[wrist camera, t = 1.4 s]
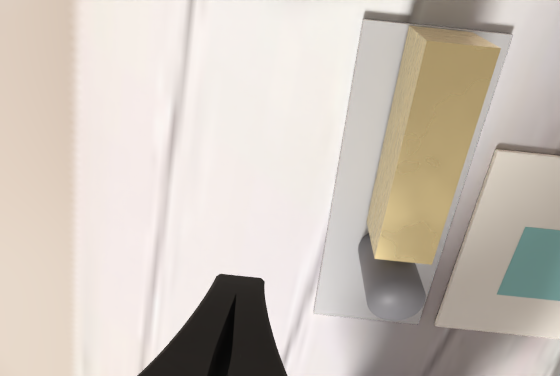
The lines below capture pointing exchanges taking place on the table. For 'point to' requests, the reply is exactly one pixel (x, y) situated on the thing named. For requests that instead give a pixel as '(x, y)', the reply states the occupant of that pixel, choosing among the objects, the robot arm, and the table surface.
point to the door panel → (481, 231)
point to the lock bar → (427, 140)
